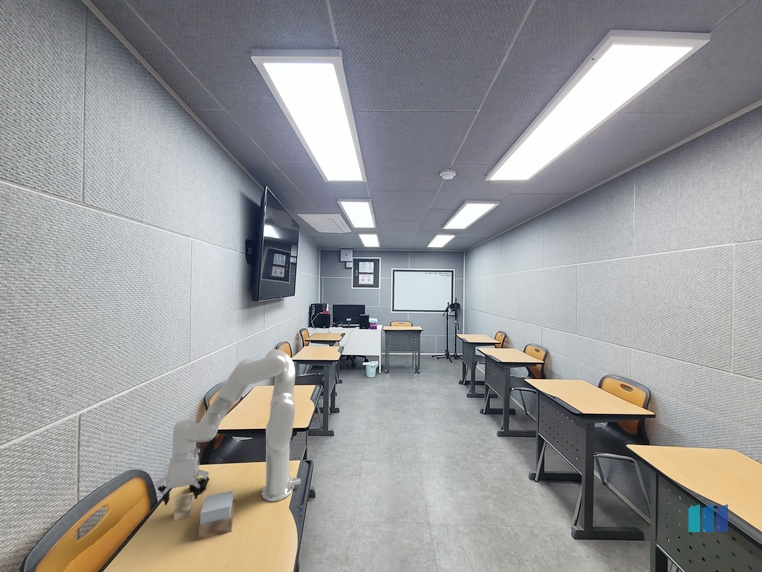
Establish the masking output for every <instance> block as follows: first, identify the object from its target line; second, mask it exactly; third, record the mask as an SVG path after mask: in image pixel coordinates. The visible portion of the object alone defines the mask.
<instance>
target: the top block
mask: <svg viewBox="0 0 762 572" xmlns="http://www.w3.org/2000/svg"><path fill="white" fill-rule="evenodd" d="M233 498H234V490H233V489H232V490H228V491H223V492H219V493H214V494H210V495H206V496H205V498H204V502H203V505H202V507H201V510H200V523H199V525H202V524H206V523H210V522H214V521H218V520H222V519H226V518H230V513H231V508H232V502H233V500H234V499H233Z"/></svg>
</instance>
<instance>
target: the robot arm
mask: <svg viewBox="0 0 762 572" xmlns="http://www.w3.org/2000/svg"><path fill="white" fill-rule="evenodd" d="M270 378H274V381H273V382H274V383H273V390H272V395H271V400H270V405H269V408H270V409H269V410H270V411H269V418H268V421H267V423H266V427H265V441H266V442H265V485H264V486H263V488H262V490H261V496H262V499H264V500H265V501H267V502H277V501H281V500H283V499H285V498H287V497H289V496H290V495H291V494H292V492H293V490H294V486H296V485H301V478H298V476H294V477H291V474H290V451H291V450H290V447H291V446H290V445H291V444H290V441H291V438H292V435H293V428H294V423H295V414H296V405H295V401H294V391H295V381H296V368H295V364H294V361H293V359H292V358H291V357H290V355H289V354H287V352H285V351H284V350H281V349H277V348H275V349H271V350H269V351H268V352H267V353H266V355H265V357H264V358H260V359H256V360H252V359H251V358H250V359H249V358H245V359H243V360H241V361H239V362H238V363H237V365H236V366H235V368H234V369H233V371H232V372H231V373H230V375H229V376H228V378H227V379H226V381H224V384H223V385H222V386H221V388H220V389H219V391H218V393H217V394H216V396H215V398H214V400H213V401H212V403H211V404H210V406H208V408H207V410H206V411H205V412H204V415H203V416H202V418H201V419H200V420H199V422H197V421H196V420H195V419H190V418H189V419H183V420H181V421H178V422H177V423H175V424H174V426H173V430H172V431H173V433H172V434H173V435H172V450H171V454H172V456H171V458H170V460H169V464H168V466H167V467H168V468H167V474H166V475H165V476H163V477H161V478H160V479H158V480H157V481H156V482H155V483H154V486H155V487H156V488H157V490H158V491H159V492H160V493H161V495H162V497H163V498H162V502H163V503H164V505H163V506H167V505H168V503H169V501H170V494H171V493H170V491H171V490H170V489H174V488H175V489H177V488H181V487H186V486H189V485H192V484H193V485H194V486H195V487H196V488H195V494H194V500H197V499H198V496H199V495H200V493H201V492H200V486H201V485H202V484H203V483H204V482H205V480H206V478H207V477H208V478H209V474H210V472H209V471H206V470H202V469H200V459H199V454H198V453H200V452H201V449H200V448H197V443H206V442H210V441H212V440H213V439H214V438H215V437H216V436H217V434H218V430H219V427H220V425H221V423H222V421H223V419H224V418H225V417H226V415H227V414H228V412H229V410H231V408H232V407H233V406H234V405H235V404H237V403H238V402H239V401H240V400H241V398H242V397H243V395H244V394H245V392H246V390H247V388H248V387H249V386H250V385H254V384H257V383H259V382H263V381H266V380H268V379H270ZM200 477H201V478H202V479H201V480H200V479H198V478H200ZM164 482H165V485H163V483H164Z"/></svg>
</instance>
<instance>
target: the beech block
mask: <svg viewBox="0 0 762 572" xmlns="http://www.w3.org/2000/svg"><path fill="white" fill-rule="evenodd" d="M193 506H194V494H193V493H190V492H189V493H183V494H179V495H177V497H176V500H175V503H174V506H173V511H174V512H173V521H177V520H183V519H186V518H190V517H191V514H192V511H193V509H194V507H193Z"/></svg>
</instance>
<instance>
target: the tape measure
mask: <svg viewBox="0 0 762 572" xmlns="http://www.w3.org/2000/svg"><path fill="white" fill-rule="evenodd" d="M197 478H198V479H200V480H201V479H202V478H203V477H197ZM209 481H210V477H209V476H208V477H207V478H206V480H205V482H204V483H203V484H202V485H201V486H200V493H202V492H205V491H206V490H207V486H208V483H209ZM195 488H196V487H195V486H194V485H193V484H192V485H188V491H189V493H193V495H195Z"/></svg>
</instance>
